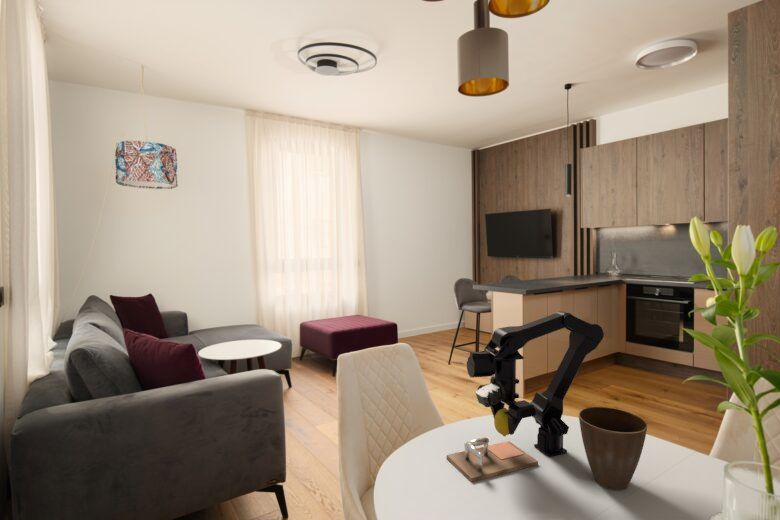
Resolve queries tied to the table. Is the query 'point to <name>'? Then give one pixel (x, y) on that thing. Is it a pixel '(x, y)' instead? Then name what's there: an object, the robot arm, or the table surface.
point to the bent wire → (471, 447)
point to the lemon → (501, 422)
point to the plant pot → (612, 444)
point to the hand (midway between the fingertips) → (504, 429)
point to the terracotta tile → (504, 450)
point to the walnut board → (490, 464)
